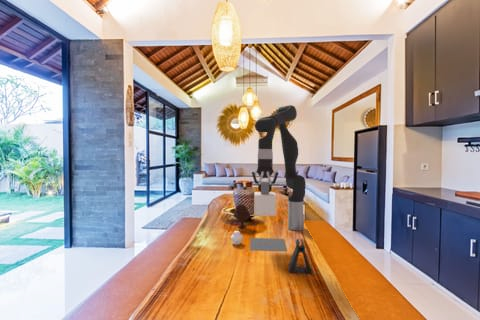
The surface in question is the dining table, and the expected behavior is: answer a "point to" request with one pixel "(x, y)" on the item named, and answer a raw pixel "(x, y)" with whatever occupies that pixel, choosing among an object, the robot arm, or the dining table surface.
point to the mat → (267, 244)
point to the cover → (265, 201)
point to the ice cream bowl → (242, 214)
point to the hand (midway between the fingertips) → (264, 191)
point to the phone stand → (292, 264)
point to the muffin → (236, 237)
